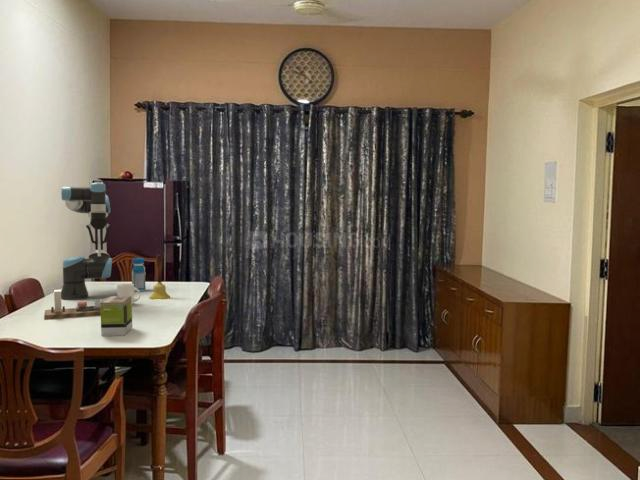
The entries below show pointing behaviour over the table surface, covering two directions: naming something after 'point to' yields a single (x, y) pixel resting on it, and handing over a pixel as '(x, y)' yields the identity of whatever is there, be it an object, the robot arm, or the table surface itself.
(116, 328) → the tea box
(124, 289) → the mug
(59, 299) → the toggle lever
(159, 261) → the handbell
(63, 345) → the table surface
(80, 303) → the push button
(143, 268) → the beverage bottle
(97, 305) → the slide knob
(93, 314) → the control board
